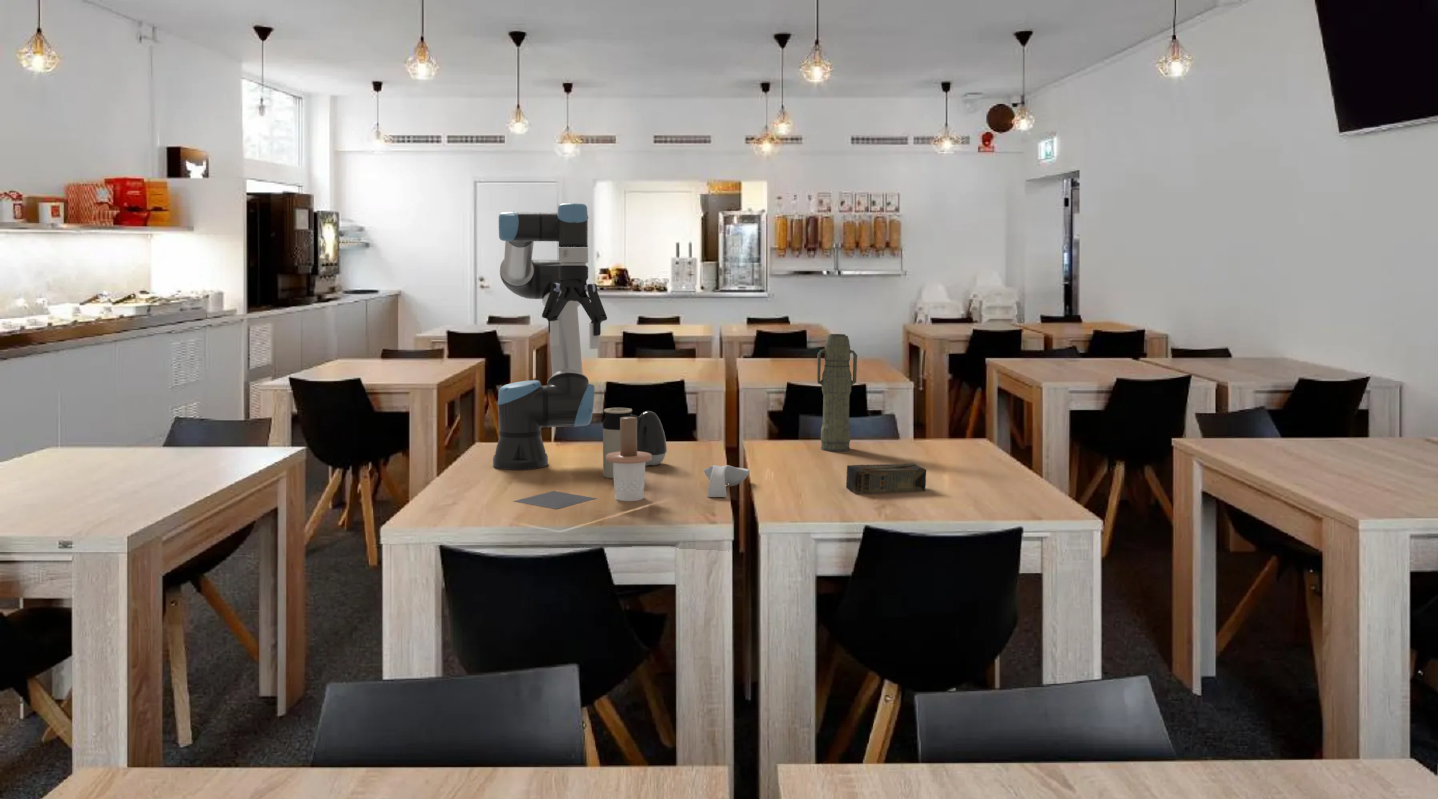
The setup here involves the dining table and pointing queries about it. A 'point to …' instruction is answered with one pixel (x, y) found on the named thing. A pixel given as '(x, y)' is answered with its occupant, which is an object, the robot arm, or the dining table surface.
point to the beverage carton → (885, 478)
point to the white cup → (629, 481)
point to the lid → (628, 444)
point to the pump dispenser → (651, 437)
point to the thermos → (836, 392)
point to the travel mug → (612, 435)
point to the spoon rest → (723, 478)
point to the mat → (555, 500)
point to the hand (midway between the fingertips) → (574, 347)
